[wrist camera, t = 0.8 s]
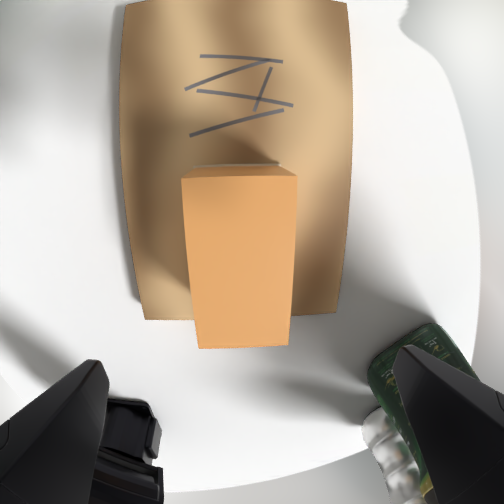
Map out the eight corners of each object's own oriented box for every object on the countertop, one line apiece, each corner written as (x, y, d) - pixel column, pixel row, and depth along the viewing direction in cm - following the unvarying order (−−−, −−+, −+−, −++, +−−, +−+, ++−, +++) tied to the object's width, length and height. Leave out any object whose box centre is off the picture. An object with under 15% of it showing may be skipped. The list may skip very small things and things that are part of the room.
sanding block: (203, 301, 19) (197, 349, 15) (193, 165, 16) (178, 176, 11) (276, 299, 20) (289, 346, 15) (280, 163, 16) (299, 173, 12)
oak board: (149, 308, 21) (145, 319, 20) (132, 13, 13) (125, 5, 11) (330, 301, 22) (336, 312, 20) (339, 11, 14) (346, 3, 12)
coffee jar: (375, 396, 28) (434, 530, 10) (356, 361, 25) (433, 531, 8) (444, 352, 26) (525, 466, 9) (438, 307, 23) (550, 442, 6)
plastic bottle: (389, 391, 27) (455, 531, 9) (411, 403, 29) (469, 520, 11) (347, 422, 29) (393, 559, 11) (373, 431, 31) (418, 547, 13)
